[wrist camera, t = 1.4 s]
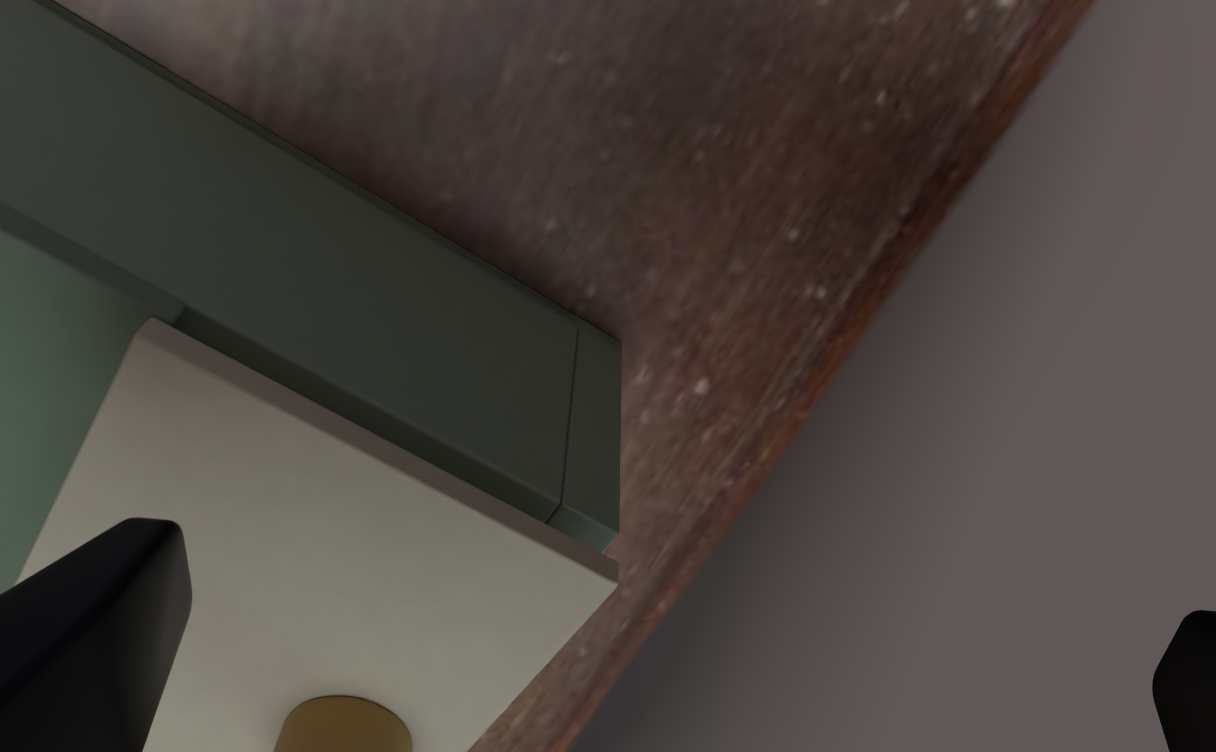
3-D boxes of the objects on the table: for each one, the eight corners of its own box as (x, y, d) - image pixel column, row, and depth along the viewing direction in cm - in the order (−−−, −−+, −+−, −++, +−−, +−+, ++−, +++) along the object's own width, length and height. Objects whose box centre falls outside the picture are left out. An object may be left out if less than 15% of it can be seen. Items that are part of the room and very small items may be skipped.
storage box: (623, 343, 23) (619, 557, 17) (389, 642, 28) (317, 896, 22) (-63, -70, 19) (-428, 2, 12) (-192, 372, 24) (-497, 588, 18)
